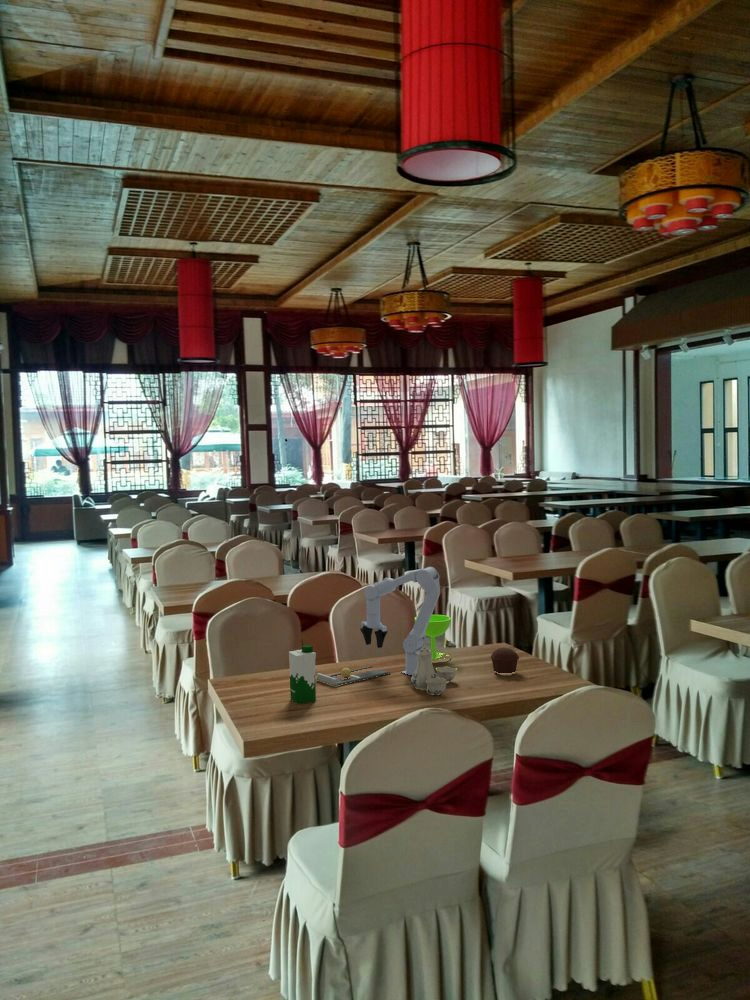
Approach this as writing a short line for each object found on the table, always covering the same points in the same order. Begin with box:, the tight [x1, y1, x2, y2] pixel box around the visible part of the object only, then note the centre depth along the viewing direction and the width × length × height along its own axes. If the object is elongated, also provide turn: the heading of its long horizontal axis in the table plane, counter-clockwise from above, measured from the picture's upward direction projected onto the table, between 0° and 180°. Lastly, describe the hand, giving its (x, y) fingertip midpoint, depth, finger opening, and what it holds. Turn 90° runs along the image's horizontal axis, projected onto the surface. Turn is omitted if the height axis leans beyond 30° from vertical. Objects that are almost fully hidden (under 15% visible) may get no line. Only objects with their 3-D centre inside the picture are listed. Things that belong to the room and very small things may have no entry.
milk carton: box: [288, 644, 317, 705], centre depth 297 cm, size 9×9×20 cm
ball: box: [340, 667, 351, 678], centre depth 325 cm, size 4×4×4 cm
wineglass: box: [414, 614, 452, 661], centre depth 355 cm, size 16×16×18 cm
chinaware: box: [410, 645, 458, 696], centre depth 310 cm, size 28×17×17 cm, turn 168°
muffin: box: [490, 647, 520, 673], centre depth 330 cm, size 12×11×10 cm
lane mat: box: [316, 665, 391, 687], centre depth 327 cm, size 12×28×3 cm, turn 129°
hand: (374, 646), depth 339 cm, fingers open, 7 cm apart
